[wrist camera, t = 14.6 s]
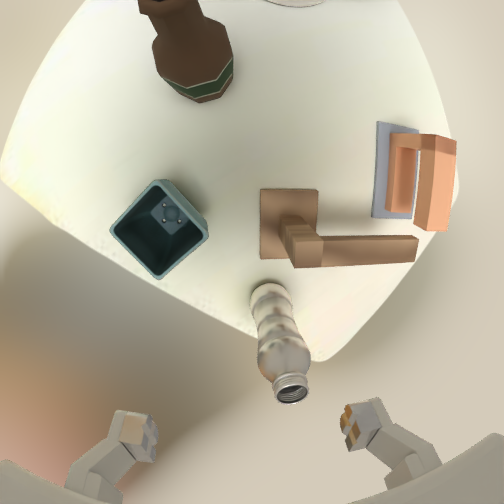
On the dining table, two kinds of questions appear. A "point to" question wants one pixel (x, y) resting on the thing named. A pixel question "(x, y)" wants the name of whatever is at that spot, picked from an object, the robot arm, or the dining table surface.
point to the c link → (421, 178)
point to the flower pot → (160, 228)
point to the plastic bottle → (280, 344)
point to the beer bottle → (189, 48)
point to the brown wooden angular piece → (320, 247)
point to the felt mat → (382, 171)
